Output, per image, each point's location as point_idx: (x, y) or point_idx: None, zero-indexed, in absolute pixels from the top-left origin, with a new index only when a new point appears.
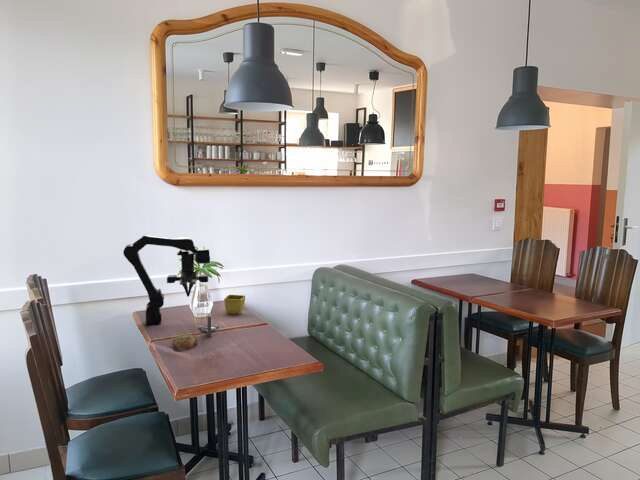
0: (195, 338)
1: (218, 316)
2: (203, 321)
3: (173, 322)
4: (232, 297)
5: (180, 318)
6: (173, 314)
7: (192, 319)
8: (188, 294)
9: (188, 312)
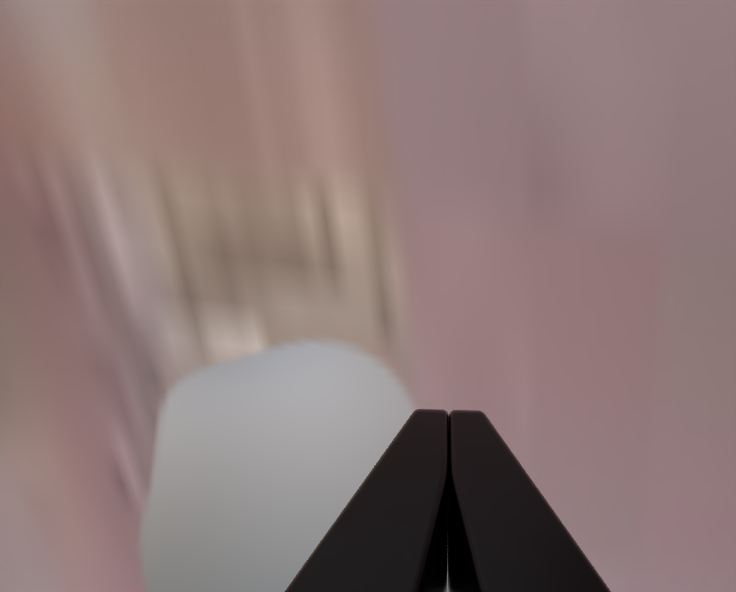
0: None
1: (28, 314)
2: (190, 81)
3: (724, 74)
4: None
5: (589, 288)
6: (687, 477)
7: (392, 214)
8: (434, 452)
9: None
